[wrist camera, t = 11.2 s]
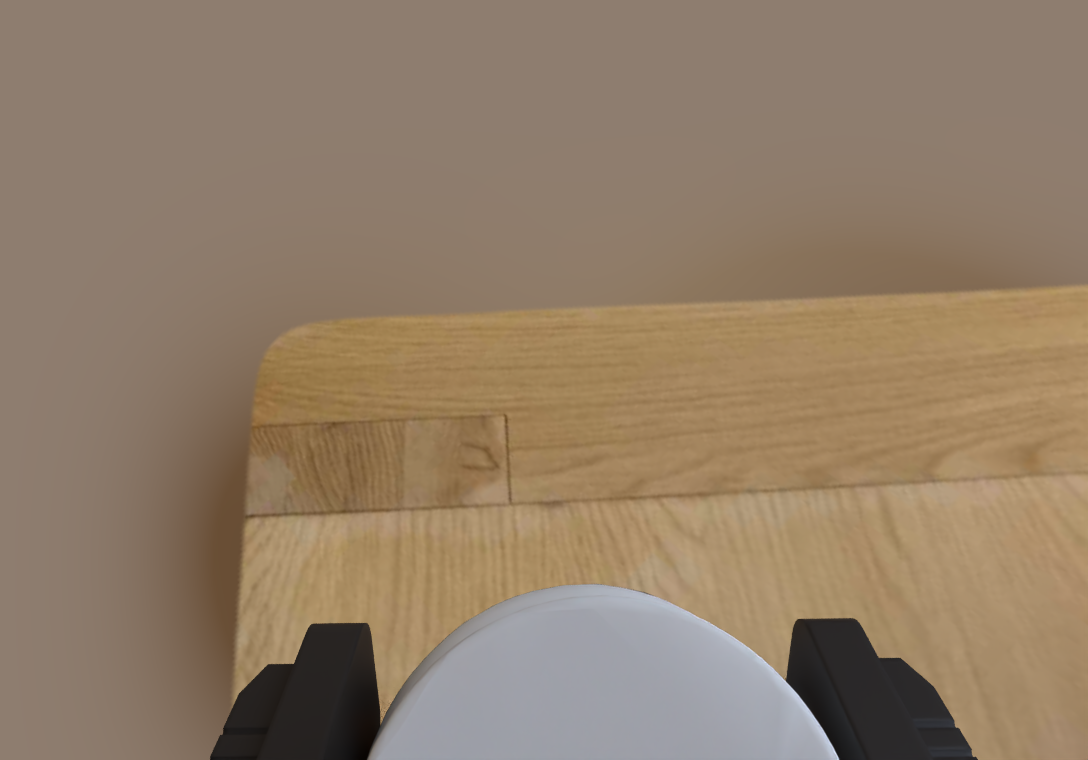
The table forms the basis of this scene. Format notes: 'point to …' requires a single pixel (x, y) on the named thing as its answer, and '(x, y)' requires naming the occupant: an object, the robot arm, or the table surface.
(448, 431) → the table surface
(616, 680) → the pill bottle
